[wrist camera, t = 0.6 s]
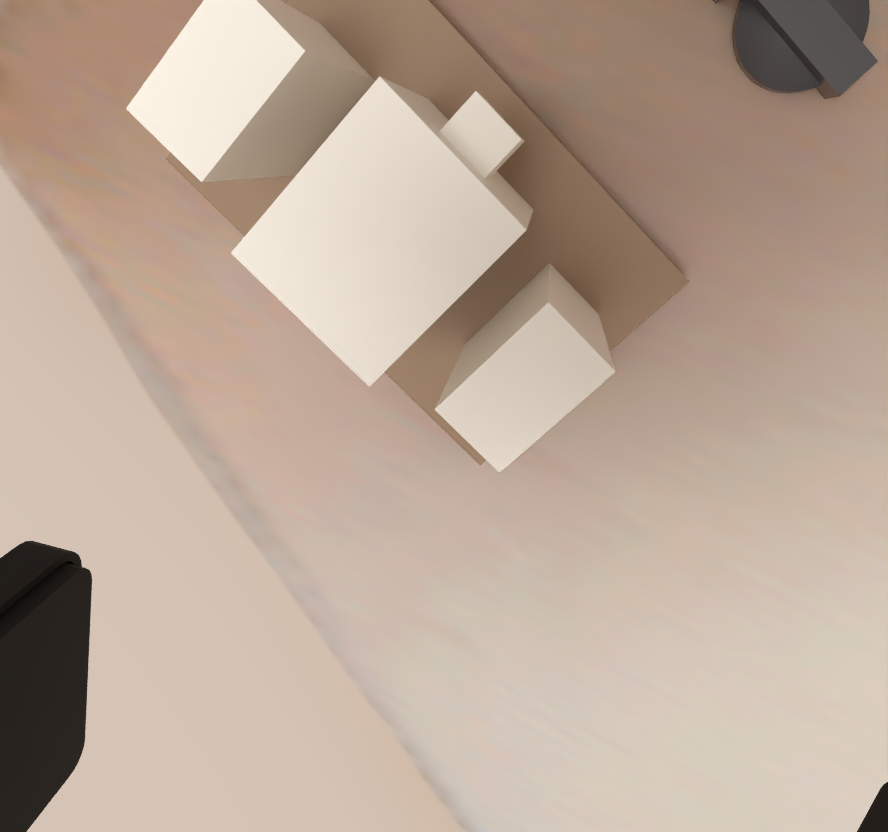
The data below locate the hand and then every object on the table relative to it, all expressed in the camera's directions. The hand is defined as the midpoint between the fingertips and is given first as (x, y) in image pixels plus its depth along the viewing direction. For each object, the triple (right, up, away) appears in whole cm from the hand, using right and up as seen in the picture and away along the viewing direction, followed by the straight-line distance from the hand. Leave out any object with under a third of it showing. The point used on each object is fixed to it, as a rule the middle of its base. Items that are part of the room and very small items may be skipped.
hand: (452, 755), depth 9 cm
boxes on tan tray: (-1, +13, +24) cm, 27 cm away
